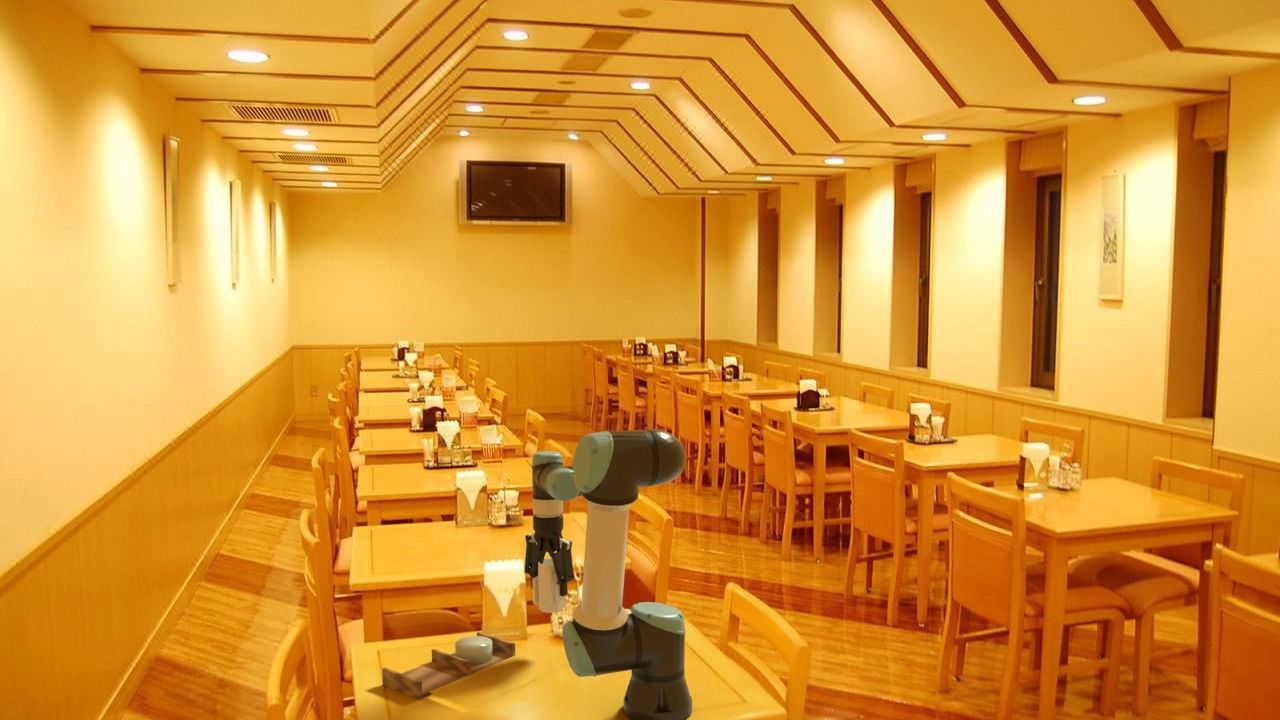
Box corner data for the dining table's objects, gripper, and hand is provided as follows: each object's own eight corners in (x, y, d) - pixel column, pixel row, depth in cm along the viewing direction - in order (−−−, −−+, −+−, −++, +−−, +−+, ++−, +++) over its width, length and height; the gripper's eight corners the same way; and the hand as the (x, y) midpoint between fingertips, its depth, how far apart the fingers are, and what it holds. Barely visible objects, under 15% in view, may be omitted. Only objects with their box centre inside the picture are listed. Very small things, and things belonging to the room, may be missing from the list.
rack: (515, 659, 252) (515, 643, 251) (419, 699, 228) (419, 682, 227) (479, 647, 260) (478, 631, 259) (382, 685, 236) (382, 668, 235)
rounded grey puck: (500, 657, 250) (499, 641, 250) (473, 668, 243) (472, 652, 243) (474, 648, 256) (474, 633, 255) (447, 659, 249) (447, 643, 248)
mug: (539, 604, 256) (539, 557, 256) (565, 604, 256) (566, 558, 255) (535, 617, 246) (535, 568, 245) (562, 617, 246) (563, 569, 245)
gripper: (588, 516, 247) (589, 609, 248) (529, 506, 259) (530, 594, 261) (568, 522, 241) (569, 616, 243) (508, 511, 253) (509, 601, 255)
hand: (549, 605), depth 252 cm, fingers closed on mug, 7 cm apart
